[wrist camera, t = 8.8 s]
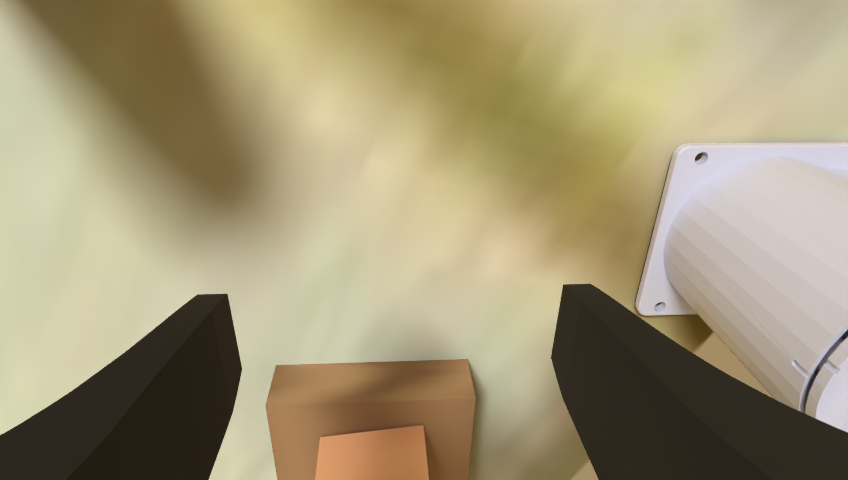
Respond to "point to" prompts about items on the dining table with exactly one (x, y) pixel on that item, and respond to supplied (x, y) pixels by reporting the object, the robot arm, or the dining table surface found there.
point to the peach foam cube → (374, 455)
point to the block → (371, 410)
